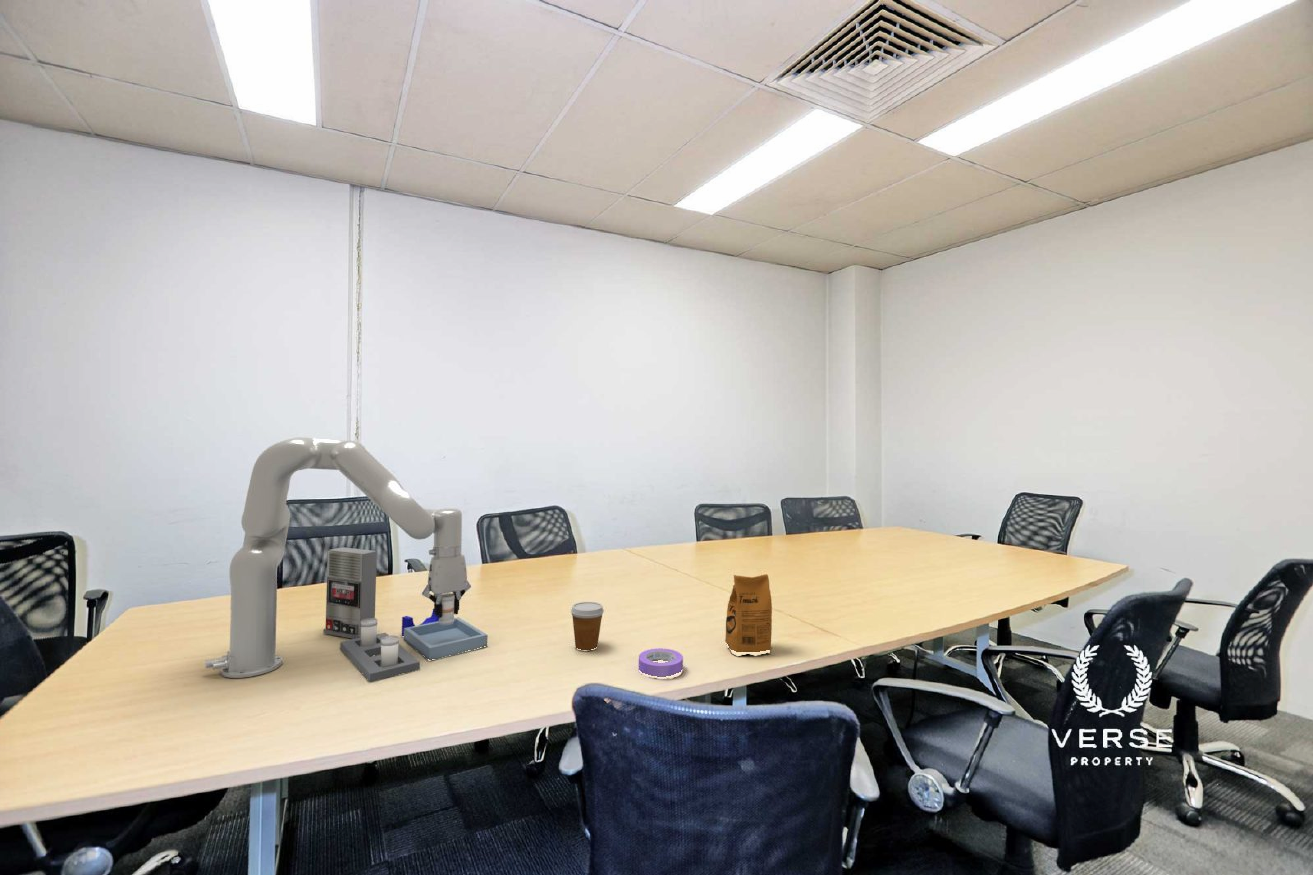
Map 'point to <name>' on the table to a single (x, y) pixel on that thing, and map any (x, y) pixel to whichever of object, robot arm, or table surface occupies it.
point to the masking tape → (657, 668)
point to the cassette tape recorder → (349, 590)
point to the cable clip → (408, 622)
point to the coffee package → (749, 615)
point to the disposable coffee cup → (586, 624)
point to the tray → (444, 638)
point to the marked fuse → (447, 609)
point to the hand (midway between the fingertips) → (446, 614)
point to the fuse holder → (377, 659)
